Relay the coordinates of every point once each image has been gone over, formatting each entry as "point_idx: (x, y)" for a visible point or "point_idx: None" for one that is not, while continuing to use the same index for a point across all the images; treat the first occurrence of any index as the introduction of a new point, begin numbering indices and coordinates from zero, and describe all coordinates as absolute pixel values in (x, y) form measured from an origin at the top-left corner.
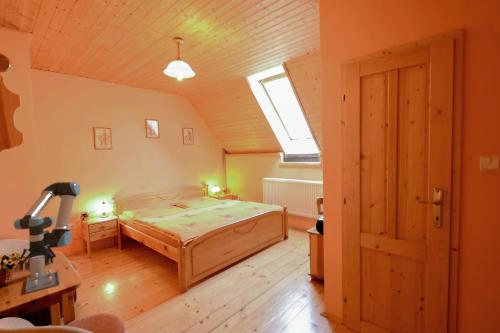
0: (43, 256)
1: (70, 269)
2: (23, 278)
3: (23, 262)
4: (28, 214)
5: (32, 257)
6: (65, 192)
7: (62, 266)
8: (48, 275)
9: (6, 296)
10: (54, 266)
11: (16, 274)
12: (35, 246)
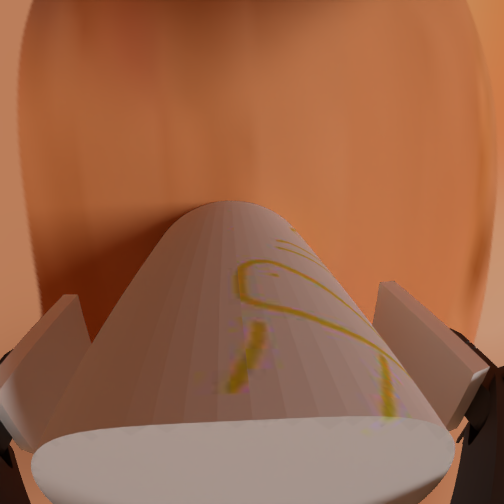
0: (410, 497)
1: (474, 323)
2: (97, 294)
3: (10, 476)
4: None
5: (45, 448)
6: None
7: (465, 181)
8: None
9: None
10: (408, 100)
11: (17, 98)
12: None
